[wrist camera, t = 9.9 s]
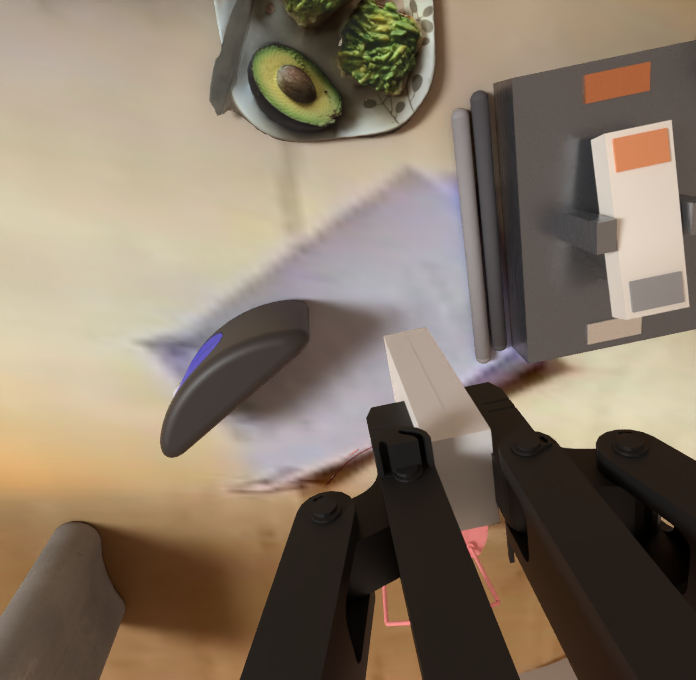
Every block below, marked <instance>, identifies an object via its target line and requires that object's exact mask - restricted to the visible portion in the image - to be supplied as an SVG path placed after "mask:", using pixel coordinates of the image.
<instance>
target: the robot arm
mask: <svg viewBox="0 0 696 680" xmlns="http://www.w3.org/2000/svg"><path fill="white" fill-rule="evenodd" d="M384 342H385V347H386V353H387V359H388V364H389V370H390V375H391V381H392V387H393V392H394V398H395V403H392V404H387V405H382V406H377V407H372V408H371V409H370V411H369V414H368V416H367V418H366V419H367V424H368V429H369V434H370V438H371V443H372V448H373V453H374V458H375V463H376V467H377V472H378V475H377V478H376V481H375V482H374V484H373V485H372V486H371V487H370V488H369V489H368V490H367V491H365V492H364V493H362V494H360V495H358V496H356V497H354V498H352V499H351V497H350V496H348V495H346V494H344V493H342V492H335V491H329V492H323V493H319V494H317V495H315V496H313V497H310V498H309V499H308V500H307V501H305V502H304V503H303V504H302V505H301V507H300V508H299V510H298V512H297V514H296V517H295V520H294V523H293V525H292V528H291V531H290V534H289V537H288V540H287V543H286V546H285V549H284V552H283V555H282V558H281V561H280V563H279V566H278V569H277V572H276V575H275V578H274V581H273V584H272V587H271V590H270V593H269V596H268V599H267V602H266V604H265V607H264V610H263V613H262V616H261V619H260V622H259V625H258V628H257V631H256V634H255V637H254V640H253V642H252V645H251V648H250V651H249V654H248V657H247V660H246V663H245V666H244V669H243V672H242V675H241V678H240V680H365V678H366V670H367V662H368V654H369V645H370V637H371V629H372V621H373V613H374V604H375V591H376V590H377V589H379V588H381V587H383V586H385V585H387V584H388V583H390V582H392V581H394V580H396V579H398V578H399V577H400V579H401V584H402V589H403V593H404V598H405V602H406V607H407V612H408V616H409V621H410V625H411V630H412V634H413V639H414V644H415V648H416V653H417V657H418V662H419V667H420V671H421V676H422V680H520V678H519V676H518V673H517V671H516V668H515V666H514V663H513V661H512V658H511V656H510V653H509V651H508V648H507V646H506V643H505V641H504V638H503V636H502V633H501V631H500V628H499V626H498V623H497V620H496V618H495V615H494V613H493V610H492V608H491V605H490V603H489V600H488V598H487V595H486V593H485V590H484V588H483V585H482V583H481V580H480V578H479V575H478V573H477V570H476V568H475V565H474V563H473V560H472V558H471V555H470V553H469V550H468V548H467V545H466V543H465V540H464V538H463V535H462V533H461V531H463V530H468V529H473V528H478V527H483V526H487V525H492V524H497V523H500V520H499V510H498V507H499V508H500V510H501V512H502V514H503V516H504V518H505V524H506V535H507V546H508V556H509V561H510V563H513V562H515V560H514V552H515V554H516V556H517V558H518V560H519V562H520V564H521V566H522V568H523V570H524V572H525V574H526V576H527V578H528V580H529V582H530V584H531V586H532V588H533V590H534V592H535V594H536V596H537V598H538V600H539V602H540V604H541V606H542V608H543V610H544V612H545V614H546V616H547V618H548V620H549V622H550V624H551V626H552V628H553V630H554V632H555V634H556V636H557V638H558V640H559V642H560V644H561V646H562V648H563V650H564V652H565V654H566V656H567V658H568V660H569V662H570V665H571V666H572V668H573V671H574V672H575V675H576V676H577V678H578V680H696V461H695V460H694V459H692V458H690V457H688V456H687V455H685V454H683V453H681V452H680V451H678V450H676V449H674V448H673V447H671V446H669V445H667V444H666V443H664V442H662V441H660V440H659V439H657V438H655V437H653V436H651V435H648V434H646V433H644V432H640V431H635V430H614V431H609V432H606V433H604V434H603V435H601V436H600V437H599V438H598V440H597V442H596V449H571V448H563V447H560V446H559V444H558V443H557V442H556V441H555V440H554V439H553V438H551V437H550V436H549V435H546V434H543V433H541V432H535V431H534V430H533V429H532V428H531V426H530V425H529V424H528V422H527V421H526V420H525V418H524V417H523V416H522V415H521V413H520V412H519V411H518V409H517V408H515V406H514V404H513V403H512V402H511V400H509V398H508V397H507V395H506V394H505V393H504V391H503V390H502V389H501V388H499V387H497V386H495V385H493V384H491V383H489V382H486V383H482V384H477V385H472V386H467V387H464V386H463V385H462V383H461V382H460V380H459V378H458V377H457V375H456V374H455V372H454V370H453V369H452V367H451V366H450V364H449V363H448V361H447V359H446V358H445V356H444V355H443V353H442V351H441V350H440V348H439V347H438V345H437V344H436V342H435V340H434V339H433V337H432V336H431V334H430V332H429V331H428V329H427V328H426V327H424V328H419V329H415V330H410V331H405V332H400V333H395V334H391V335H386V336H384ZM661 517H663V518H664V519H665V520H667V521H668V522H670V523H671V524H672V525H674V528H672V527H671V526H669V525H667V524H666V523H664V522H663V521H662V520H661Z"/></svg>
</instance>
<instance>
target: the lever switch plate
mask: <svg viewBox="0 0 696 680" xmlns="http://www.w3.org/2000/svg"><path fill="white" fill-rule="evenodd" d="M493 85H494V99H495V113H496V127H497V141H498V155H499V169H500V183H501V197H502V211H503V224H504V238H505V252H506V266H507V280H508V294H509V308H510V322H511V336H512V347H513V348H514V349H515V350H516V351H517V352H518V353H519V354H520V356H521V357H522V358H523V359H524V360H525V361H526V362H527V363H528V364H530V363H535V362H540V361H544V360H549V359H554V358H559V357H564V356H569V355H573V354H578V353H583V352H588V351H593V350H597V349H602V348H607V347H612V346H617V345H621V344H626V343H631V342H636V341H641V340H645V339H650V338H655V337H660V336H665V335H669V334H674V333H679V332H684V331H689V330H693V329H696V40H694V41H689V42H684V43H680V44H675V45H670V46H665V47H660V48H656V49H651V50H646V51H641V52H636V53H632V54H627V55H622V56H617V57H612V58H607V59H603V60H598V61H593V62H588V63H583V64H579V65H574V66H569V67H564V68H559V69H555V70H550V71H545V72H540V73H535V74H530V75H526V76H521V77H516V78H511V79H508V80H504V81H501V82H497V83H493ZM668 120H672V130H673V140H674V151H675V161H676V171H677V182H678V192H679V203H680V213H681V223H682V234H683V244H684V254H685V265H686V275H687V286H688V296H689V306H690V307H686V308H681V309H677V310H672V311H667V312H662V313H657V314H653V315H648V316H643V317H638V318H633V319H629V320H624V319H619V318H614V317H612V311H611V303H610V294H609V286H608V278H607V270H606V261H605V253H609V252H614V251H616V250H617V219H615V218H611V217H607V216H603V215H600V212H599V204H598V196H597V187H596V179H595V171H594V163H593V154H592V146H591V140H592V139H594V138H596V137H599V136H601V135H603V134H605V133H610V132H615V131H620V130H625V129H630V128H634V127H639V126H644V125H649V124H654V123H658V122H663V121H668Z"/></svg>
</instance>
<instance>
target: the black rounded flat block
mask: <svg viewBox="0 0 696 680" xmlns="http://www.w3.org/2000/svg"><path fill="white" fill-rule="evenodd" d="M308 342H309V309H308V307H307V305H306V304H305V303H303V302H300V301H295V300H284V301H277V302H272V303H268V304H265V305H261V306H258V307H256V308H253V309H251V310H249V311H246V312H244V313H242V314H241V315H239V316H237V317H235V318H234V319H232V320H230V321H229V322H228V323H226V324H225V325H224V326H222V327H221V328H220V329H219V330H217V331H216V332H215V333H214V334H213V335H212V336H211V337H210V338H209V339H208V340H207V341H206V342H205V343H204V345H203V346H202V347H201V348H200V350H199V351H198V352H197V354H196V355H195V357H194V359H193V360H192V362H191V364H190V366H189V368H188V370H187V372H186V374H185V376H184V378H183V380H182V382H181V383H179V385H177V386H176V388H175V390H174V393H173V400H172V402H171V404H170V406H169V408H168V410H167V412H166V415H165V418H164V421H163V425H162V430H161V436H160V444H161V449H162V452H163V454H164V455H165V456H167V457H170V458H173V457H177V456H180V455H181V454H183V453H184V452H186V451H187V450H188V449H189V448H190V447H191V446H193V445H194V444H195V443H196V442H197V441H198V440H200V439H201V438H202V437H203V436H204V435H205V434H207V433H208V432H209V431H210V430H211V429H212V428H213V427H215V426H216V425H217V424H218V423H219V422H220V421H222V420H223V419H224V418H225V417H226V416H227V415H229V414H230V413H231V412H232V411H233V410H234V409H236V408H237V407H238V406H239V405H240V404H241V403H243V402H244V401H245V400H246V399H247V398H248V397H249V396H251V395H252V394H253V393H254V392H255V391H256V390H258V389H259V388H260V387H261V386H262V385H263V384H265V383H266V382H267V381H268V380H269V379H270V378H272V377H273V376H274V375H275V374H276V373H277V372H279V371H280V370H281V369H282V368H283V367H284V366H285V365H287V364H288V363H289V362H290V361H291V360H292V359H294V358H295V357H296V356H297V355H298V354H299V353H300V352H301V351H302V350H303V349H304V348H305V346H306V345H307V344H308Z"/></svg>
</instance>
